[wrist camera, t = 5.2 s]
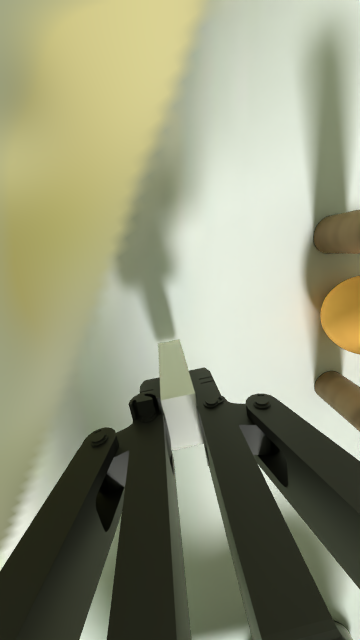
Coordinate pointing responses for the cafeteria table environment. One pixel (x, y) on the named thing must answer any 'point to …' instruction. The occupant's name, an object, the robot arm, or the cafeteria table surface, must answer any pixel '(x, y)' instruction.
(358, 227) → the post
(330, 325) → the ball
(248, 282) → the cafeteria table surface
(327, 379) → the post
